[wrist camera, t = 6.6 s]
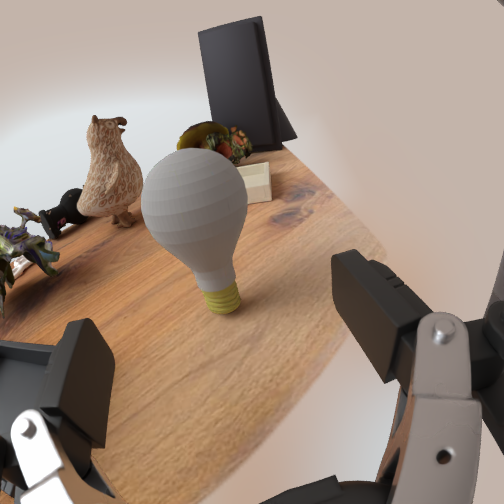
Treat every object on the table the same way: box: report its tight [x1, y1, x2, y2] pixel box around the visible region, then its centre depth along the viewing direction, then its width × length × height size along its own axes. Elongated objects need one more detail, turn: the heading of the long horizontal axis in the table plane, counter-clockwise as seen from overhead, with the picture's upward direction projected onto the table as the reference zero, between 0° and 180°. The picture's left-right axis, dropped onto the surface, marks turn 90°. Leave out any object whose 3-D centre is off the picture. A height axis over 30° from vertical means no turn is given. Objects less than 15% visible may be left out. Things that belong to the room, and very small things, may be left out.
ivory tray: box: [236, 162, 272, 204], centre depth 39 cm, size 11×11×2 cm
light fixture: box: [198, 16, 297, 152], centre depth 61 cm, size 17×21×30 cm
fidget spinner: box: [12, 255, 33, 279], centre depth 32 cm, size 7×6×1 cm
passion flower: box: [0, 207, 60, 318], centre depth 23 cm, size 11×11×12 cm
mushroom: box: [177, 121, 253, 164], centre depth 54 cm, size 12×12×15 cm
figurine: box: [77, 115, 143, 228], centre depth 33 cm, size 9×10×15 cm
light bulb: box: [141, 148, 248, 314], centre depth 16 cm, size 6×5×10 cm
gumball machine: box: [39, 185, 89, 240], centre depth 40 cm, size 7×6×10 cm
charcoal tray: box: [0, 340, 55, 499], centre depth 11 cm, size 11×10×2 cm
